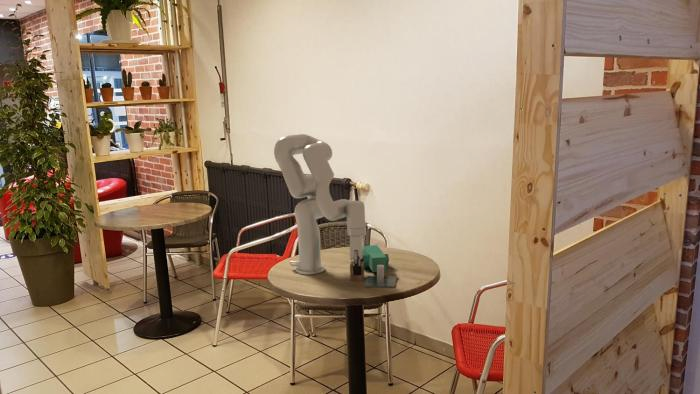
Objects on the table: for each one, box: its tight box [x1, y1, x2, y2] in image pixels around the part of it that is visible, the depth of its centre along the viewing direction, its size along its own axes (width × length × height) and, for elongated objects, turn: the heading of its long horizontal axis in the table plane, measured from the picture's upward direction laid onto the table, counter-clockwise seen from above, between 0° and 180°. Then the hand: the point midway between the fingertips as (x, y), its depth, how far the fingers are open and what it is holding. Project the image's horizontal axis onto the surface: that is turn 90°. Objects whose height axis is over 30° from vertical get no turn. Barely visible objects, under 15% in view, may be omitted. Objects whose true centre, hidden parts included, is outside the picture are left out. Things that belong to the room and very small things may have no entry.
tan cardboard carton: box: [349, 260, 365, 282], centre depth 217 cm, size 5×5×7 cm
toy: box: [362, 241, 390, 273], centre depth 234 cm, size 12×10×30 cm
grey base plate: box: [364, 265, 397, 289], centre depth 212 cm, size 12×12×7 cm
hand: (358, 271), depth 217 cm, fingers open, 9 cm apart
